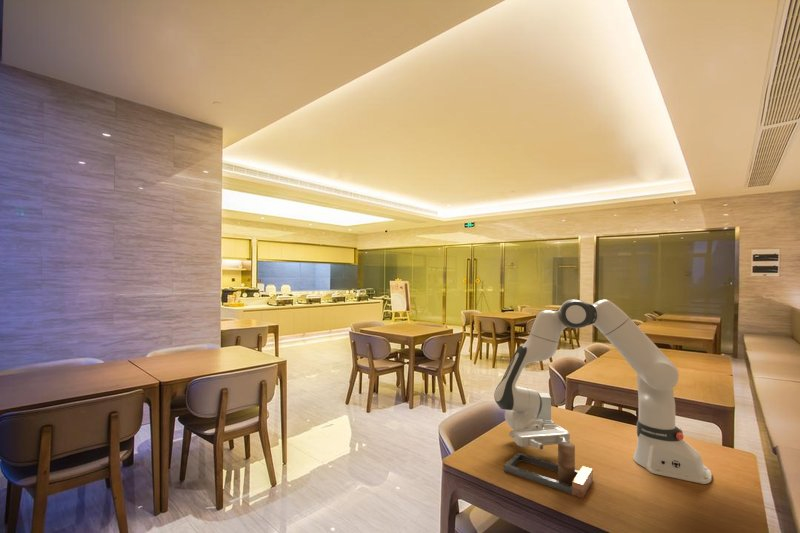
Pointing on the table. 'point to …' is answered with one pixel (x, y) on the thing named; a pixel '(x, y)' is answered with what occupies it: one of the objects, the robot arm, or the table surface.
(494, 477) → the table surface
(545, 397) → the supplement box
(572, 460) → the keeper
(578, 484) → the guide track
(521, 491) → the table surface
